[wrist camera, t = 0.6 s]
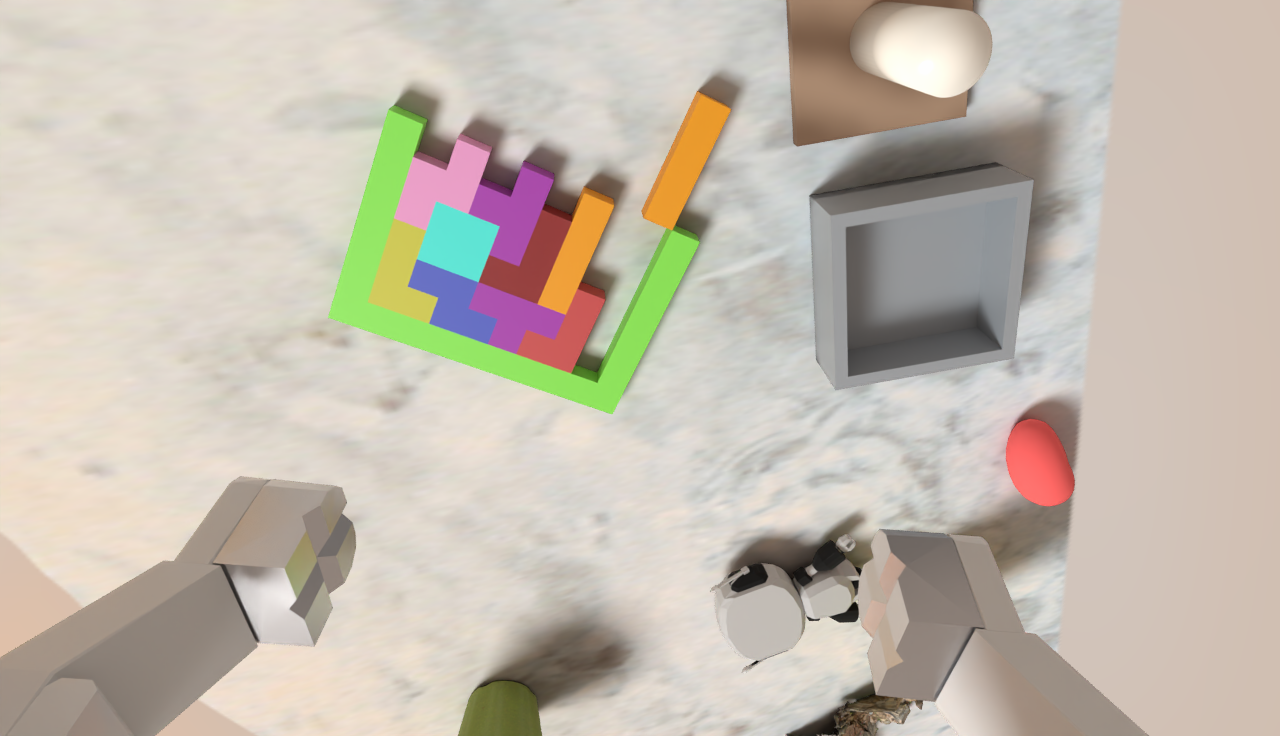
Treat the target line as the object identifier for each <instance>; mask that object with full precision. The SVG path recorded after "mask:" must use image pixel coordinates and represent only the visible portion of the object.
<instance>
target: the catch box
mask: <svg viewBox="0 0 1280 736" xmlns="http://www.w3.org/2000/svg"><path fill="white" fill-rule="evenodd" d="M1033 183H1034V180H1033V179H1031V178H1029V177H1027V176H1024V175H1022V174H1020V173H1018V172H1016V171H1014V170H1011V169H1009V168H1007V167H1005V166H1003V165H1000V164H998V163H991V164H985V165H979V166H974V167H968V168H963V169H957V170H951V171H946V172H940V173H934V174H929V175H923V176H918V177H912V178H906V179H901V180H895V181H889V182H884V183H878V184H873V185H867V186H861V187H856V188H850V189H844V190H839V191H833V192H828V193H822V194H816V195H811V196H810V219H811V244H812V268H813V293H814V318H815V342H816V360H817V362H818V363H819V365H820V367H821V368H822V370H823V371H824V373H825V374H826V376H827V378H828V379H829V381H830V382H831V384H832V386H833V387H834V389H835V390H839V389H845V388H851V387H856V386H862V385H867V384H873V383H879V382H884V381H890V380H895V379H901V378H907V377H912V376H918V375H924V374H929V373H935V372H940V371H946V370H952V369H957V368H963V367H968V366H974V365H980V364H985V363H991V362H997V361H1002V360H1008V359H1013V358H1014V353H1015V344H1016V335H1017V326H1018V317H1019V308H1020V299H1021V290H1022V281H1023V272H1024V263H1025V254H1026V245H1027V236H1028V227H1029V218H1030V209H1031V200H1032V192H1033Z"/></svg>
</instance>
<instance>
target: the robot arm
mask: <svg viewBox="0 0 1280 736" xmlns="http://www.w3.org/2000/svg"><path fill="white" fill-rule="evenodd" d="M346 504H347V501H346V498H345V495H344V492H343V489H342V488H341V487H338V486H332V485H322V484H313V483H304V482H294V481H285V480H276V479H262V478H252V477H242V476H240V477H239V478H237V479H236V480H234V481H232V482H231V483H230V484H229V485H228V486H227V488H226V489H225V491H224V492H223V493H222V495H221V496H220V498H219V499H218V500H217V502H216V503H215V505H214V506H213V507H212V509H211V510H210V511H209V513H208V514H207V516H206V517H205V518H204V520H203V521H202V523H201V524H200V525H199V527H198V528H197V530H196V531H195V532H194V534H193V535H192V536H191V538H190V539H189V541H188V542H187V543H186V545H185V546H184V548H183V549H182V550H181V552H180V553H179V555H178V556H177V557H176V559H175V560H174V561H162V562H161V563H159V564H157V565H155V566H154V567H152V568H150V569H149V570H147V571H145V572H144V573H142V574H140V575H139V576H137V577H135V578H134V579H132V580H130V581H128V582H127V583H125V584H123V585H122V586H120V587H118V588H117V589H115V590H113V591H112V592H110V593H108V594H106V595H105V596H103V597H101V598H100V599H98V600H96V601H95V602H93V603H91V604H90V605H88V606H86V607H84V608H83V609H81V610H79V611H78V612H76V613H74V614H73V615H71V616H69V617H68V618H66V619H65V620H63V621H61V622H59V623H57V624H56V625H54V626H52V627H51V628H49V629H47V630H46V631H44V632H42V633H41V634H39V635H37V636H35V637H34V638H32V639H30V640H29V641H27V642H25V643H24V644H22V645H20V646H19V647H17V648H15V649H14V650H12V651H10V652H9V653H7V654H5V655H3V656H2V657H0V736H155V735H157V734H158V733H159V732H160V731H161V730H162V729H164V728H165V727H166V726H167V725H168V724H169V723H170V722H172V721H173V720H174V719H175V718H176V717H177V716H178V715H180V714H181V713H182V712H183V711H184V710H185V709H187V708H188V707H189V706H190V705H191V704H192V703H193V702H195V701H196V700H197V699H198V698H199V697H200V696H201V695H203V694H204V693H205V692H206V691H207V690H208V689H210V688H211V687H212V686H213V685H214V684H215V683H216V682H218V681H219V680H220V679H221V678H222V677H223V676H224V675H226V674H227V673H228V672H229V671H230V670H231V669H233V668H234V667H235V666H236V665H237V664H238V663H239V662H241V661H242V660H243V659H244V658H245V657H246V656H247V655H249V654H250V653H251V652H252V651H253V650H254V649H256V648H257V647H258V645H257V643H264V644H281V645H298V646H315V644H316V642H317V640H318V638H319V636H320V634H321V632H322V630H323V627H324V625H325V623H326V621H327V619H328V617H329V615H330V613H331V611H332V609H333V607H332V603H331V600H330V597H329V594H330V593H331V592H332V591H334V590H335V589H337V588H338V587H339V586H341V585H342V584H343V583H345V581H346V578H347V576H348V574H349V572H350V569H351V567H352V563H353V558H354V554H355V549H356V535H355V530H354V526H353V523H352V522H351V521H350V520H349V519H348V518H347V517H346V516H344V515H343V514H342V512H343V510H344V508H345V506H346ZM871 549H872V553H873V559H872V560H870V561H869V562H867V563H866V564H864V565H863V569H862V572H861V575H860V578H859V588H858V607H859V615H860V620H861V625H862V627H863V628H864V629H865V630H866V631H867V632H868V634H869V635H870V636H871V637H872V638H873V640H872V642H871V645H870V647H869V650H868V652H867V655H868V659H869V664H870V669H871V674H872V678H873V683H874V688H875V692H876V695H880V696H889V697H898V698H906V699H915V700H924V701H933V702H935V703H934V705H935V707H936V708H937V709H938V710H939V712H940V713H941V714H942V716H943V717H944V718H945V720H946V721H947V722H948V724H949V725H950V726H951V727H952V729H953V730H954V731H955V733H956V734H957V735H958V736H1149V735H1147V734H1146V733H1145V732H1144V731H1143V730H1142V729H1141V728H1140V727H1139V726H1137V725H1136V724H1135V723H1134V722H1133V721H1132V720H1131V719H1130V718H1129V717H1127V716H1126V715H1125V714H1124V713H1123V712H1122V711H1121V710H1120V709H1118V708H1117V707H1116V706H1115V705H1114V704H1113V703H1112V702H1111V701H1110V700H1109V699H1107V698H1106V697H1105V696H1104V695H1103V694H1102V693H1101V692H1099V690H1097V689H1096V688H1095V687H1094V686H1093V685H1092V684H1090V682H1089V681H1087V680H1086V679H1085V678H1084V677H1083V676H1082V675H1081V674H1079V673H1078V672H1077V671H1076V670H1075V669H1074V668H1073V667H1072V666H1071V665H1070V664H1069V663H1067V662H1066V661H1065V660H1064V659H1063V658H1062V657H1061V656H1060V655H1059V654H1057V653H1056V652H1055V651H1054V650H1053V649H1052V648H1051V647H1050V646H1049V645H1047V644H1046V643H1045V642H1044V641H1043V640H1042V639H1041V638H1040V637H1039V636H1037V635H1036V634H1032V633H1025V631H1024V629H1023V626H1022V624H1021V621H1020V619H1019V617H1018V614H1017V612H1016V609H1015V607H1014V605H1013V602H1012V600H1011V597H1010V595H1009V592H1008V590H1007V588H1006V585H1005V583H1004V580H1003V578H1002V576H1001V573H1000V571H999V568H998V566H997V563H996V561H995V559H994V556H993V554H992V551H991V549H990V546H989V544H988V542H987V541H986V540H985V539H984V538H983V537H978V536H965V535H952V534H947V535H945V534H944V533H929V532H915V531H900V530H886V529H879V530H878V532H877V533H876V534H875V535H874V538H873V541H872V543H871Z"/></svg>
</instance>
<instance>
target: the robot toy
mask: <svg viewBox="0 0 1280 736" xmlns="http://www.w3.org/2000/svg"><path fill="white" fill-rule="evenodd" d="M854 547H855V540H854V539H853V538H851V537H850V536H849V535H846V534H845V535H843V536H841V537H839V538H838V540H837V542H836V544H835V543H834V542H833V541H831V540H830V541H829V542H827V543H826V544H825V545H824V546H822V547H821V548H820V549H819V550H817V552H816V554H815V557H814V559H813V562H812V564H811V565H810V566H808V567H806V568H803V567H800V568H799V569H798V570H797V571H795V572H794V573H793V574H794V578H793V582H794V584H793V582H792V580H791V578H790V577H789V576H788V575H787V573H786V572H785V571H784V570H783V569H782V568H780V567H777V566H775V565H773V564H765V563H760V564H754V565H751V566H749V567H747V566H745V567H743V568H741V569H740V570H738V571H735V572H732V573H731V574H730V575H728V576H726V578H725V579H724V580H723V581H722V582H721V583H720V584H719V585H716V586H714V587H712V589H711V591H710V592H716V593H715V611H716V617H717V622H718V625H719V628H720V631H721V634H722V636H723V637H724V639H725V640H726V642H727V643H728V645H729V646H730V647H731V649H732V650H733V651H734V652H735V653H737V654H738V655H739V656H742V657H744V658H746V659H751V660H757V661H755V662H754V663H752V664H751V665H749V666H746V667H745V668H743V671H742V673H746V672H748V671H750V669H751V668H753V667H754V666H756V665H757V664H759V663H760V662H762V661H763V660H765V659H767V658H769V657H772V656H774V655H777V654H780V653H782V652H785V651H788V650H789V649H792V648H793V647H794V646H795V645H796V643H797V642H798V641H799V640H800V638H801V636H802V634H803V632H804V629H805V613H806V616H807V618H808V620H809V621H819V620H820V618H825V617H830V618H832V619H834V620H836V621H838V622H840V623H841V622H856V621H857V619H858V617H859V618H860V615H859V607H858V604H857V603H856V602H855V601H856V600H858V588H859V578H860V575H861V572H862V570H861V569H860V568H858V567H854V566H853V564H852V563H851V562H850V561H849V560H847V559H846V558H845V556H844V554H843V553H845V552H848V551H851V550H852V549H853V548H854Z"/></svg>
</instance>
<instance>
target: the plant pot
mask: <svg viewBox="0 0 1280 736" xmlns="http://www.w3.org/2000/svg"><path fill="white" fill-rule="evenodd" d="M458 736H542V732H541V726H540V718H539V712H538V705H537V700H536V696H535V695H533V693H532V692H531V691H530V690H529V688H528V687H526V686H525V685H523V684H520V683H517V682H513V681H495V682H492V683H490V684H488V685H487V686H484V687H480V688H478V689H476V690H475V691H474V692H473V694H472V695H471V696H470V698H469V701H468V704H467V707H466V711H465V714H464V717H463V721H462V724H461V727H460V731H459V734H458Z"/></svg>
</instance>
